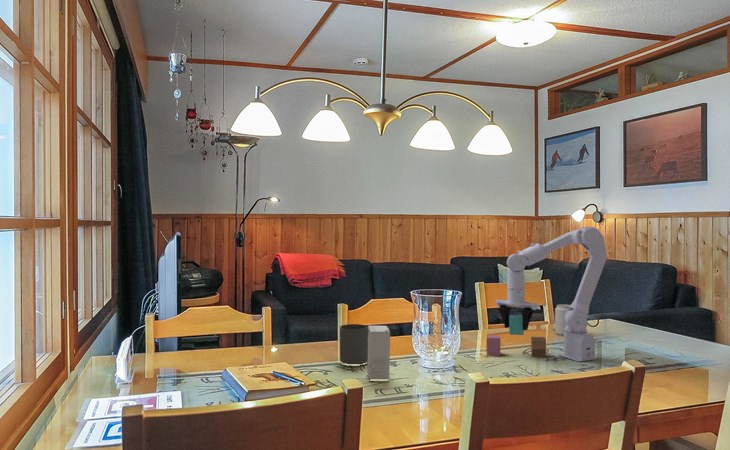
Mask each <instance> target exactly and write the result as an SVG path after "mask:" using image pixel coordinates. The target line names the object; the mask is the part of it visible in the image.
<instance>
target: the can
mask: <svg viewBox="0 0 730 450" xmlns="http://www.w3.org/2000/svg"><path fill="white" fill-rule="evenodd" d="M570 306H571V304H560V303H559V304H556V307H555V308H554V333H555V334H556V335H557V334H558V335H557V336H560V335H561V337H564V328H565V327H566V325H567V324H566V323H565V321H564V314H565V312H566V311H568V310H569V308H570Z"/></svg>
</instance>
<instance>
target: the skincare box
mask: <svg viewBox="0 0 730 450" xmlns="http://www.w3.org/2000/svg"><path fill="white" fill-rule="evenodd" d="M367 327H368V362H367V365H366V366H367V367H366V368H367V369H366V370H367V371H366V374H367V373H368V375H369V377H368V379H369V378H370V379H389V380H390V367H391V366H390V364H391V363H390V361H391V360H390V357H391V356H390V355H391V331H390V329H389V327H388V326H387V325H368V326H367ZM368 375H367V376H368Z"/></svg>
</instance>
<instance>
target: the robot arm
mask: <svg viewBox="0 0 730 450" xmlns="http://www.w3.org/2000/svg"><path fill="white" fill-rule="evenodd" d="M572 244H573V245H582V247H583V248H585V250H586V252H587V254H588V255H589V260H588V262H587V265H586V267H585V271H584V273H583V275H582V277H581V281H580V284H579V287H578V289H577V291H576V295H575V297H574V300H573V301H572V303H571V304H570V305H571V306H570V308H569V310H568V311H566V312H565V314H564V321H565V323H566V324H567V325H566V327H565V328H564V336H563V353H558V356H559V357H562V358H566V359H569V360H572V361H576V362H585V361H586V362H587V361H593V360H597V357H596V352H595V350H596V345H595V344H596V342H595V337H594V336H593V334H591V333H588V329H587V327H588V325H589V322H588V316H589V313H590V304H591V302H592V300H593V299H592V298H593V296H594V293H595V291H596V288H597V285H598V282H599V280H600V277H601V275H602V272H603V269H604V266H605V264H606V262H607V259H608V252H607V248H606V244H605V236H604V235H603V234H602V233H601V231H600V230H599V229H598V228H596V227H594V226H582V227H581V228H579V229H574V230H571V231H569V232H566V233H564V234H562V235H560V236H558V237H556V238H554V239H552V240H550V241H548V242H546V243H544V244H541V243H530V246H529V247H526V248H525V249H522V250H520V249H519V250H517V253H513V254H510V255H509V256H508V258H507V261H506V265H507V284H506V285H507V300H506V299H496V300H495V307H498V308H497V310H498V311H499V312H498V313H499V314H500V316H501V318H502V320H503V324H504V328H505V329H509V315H511V310H512V308H516V309H521V311H520V312H521V315H522V317H523V330H524V331H528V330H529V329H528V328H529V324H530V321H531V319H532V317H533V314H534V313H535V311H536V310H538V303H535V302H529V301H526V300H525V297H526V295H525V294H526V292H525V291H526V285H525V284H526V282H525V280H526V277H525V268H526V266H527V267H530V266H531V265H534V264H536V263H538V262H540V261H543V260H545V259H546V258H547V255H548V254H549V253H551V252H553V251H556V250H558V249H562V248H563V247H566V246H568V245H572Z"/></svg>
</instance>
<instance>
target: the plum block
mask: <svg viewBox="0 0 730 450" xmlns="http://www.w3.org/2000/svg"><path fill="white" fill-rule="evenodd" d="M486 356H489V357H490V356H495V357H501V335H489V334H488V335H486Z"/></svg>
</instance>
